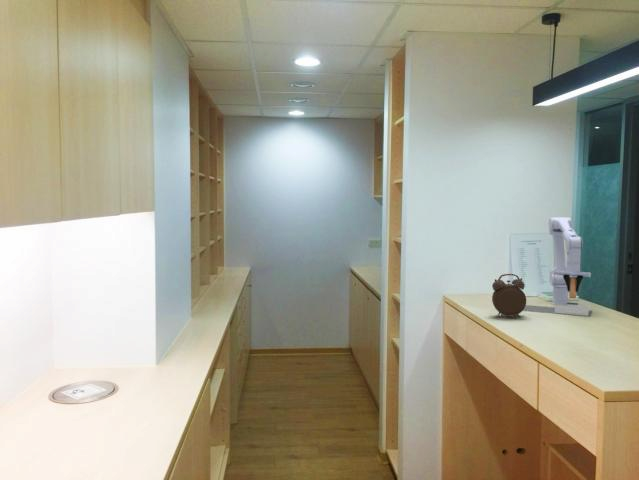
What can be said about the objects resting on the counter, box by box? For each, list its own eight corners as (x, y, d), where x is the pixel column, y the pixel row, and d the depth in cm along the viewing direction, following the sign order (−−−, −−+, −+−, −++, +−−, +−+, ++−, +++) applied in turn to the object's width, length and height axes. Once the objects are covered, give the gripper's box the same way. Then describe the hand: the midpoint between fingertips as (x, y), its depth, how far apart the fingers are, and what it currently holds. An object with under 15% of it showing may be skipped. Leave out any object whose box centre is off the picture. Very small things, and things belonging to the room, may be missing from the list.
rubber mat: (525, 305, 266) (525, 304, 265) (592, 311, 250) (592, 310, 250) (520, 311, 253) (520, 310, 253) (590, 317, 238) (590, 316, 238)
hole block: (557, 308, 257) (557, 300, 257) (589, 310, 250) (590, 302, 250) (554, 313, 247) (554, 304, 246) (588, 316, 240) (588, 307, 239)
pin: (569, 296, 250) (569, 276, 249) (576, 297, 248) (577, 277, 247) (568, 297, 247) (569, 277, 246) (576, 298, 246) (576, 278, 245)
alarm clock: (522, 315, 246) (523, 272, 244) (526, 318, 239) (527, 275, 237) (490, 315, 247) (490, 272, 245) (493, 318, 240) (494, 275, 238)
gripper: (555, 262, 247) (555, 291, 248) (590, 264, 239) (589, 294, 240) (557, 261, 253) (556, 289, 254) (591, 262, 245) (590, 291, 247)
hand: (572, 291), depth 248 cm, fingers closed on pin, 3 cm apart
